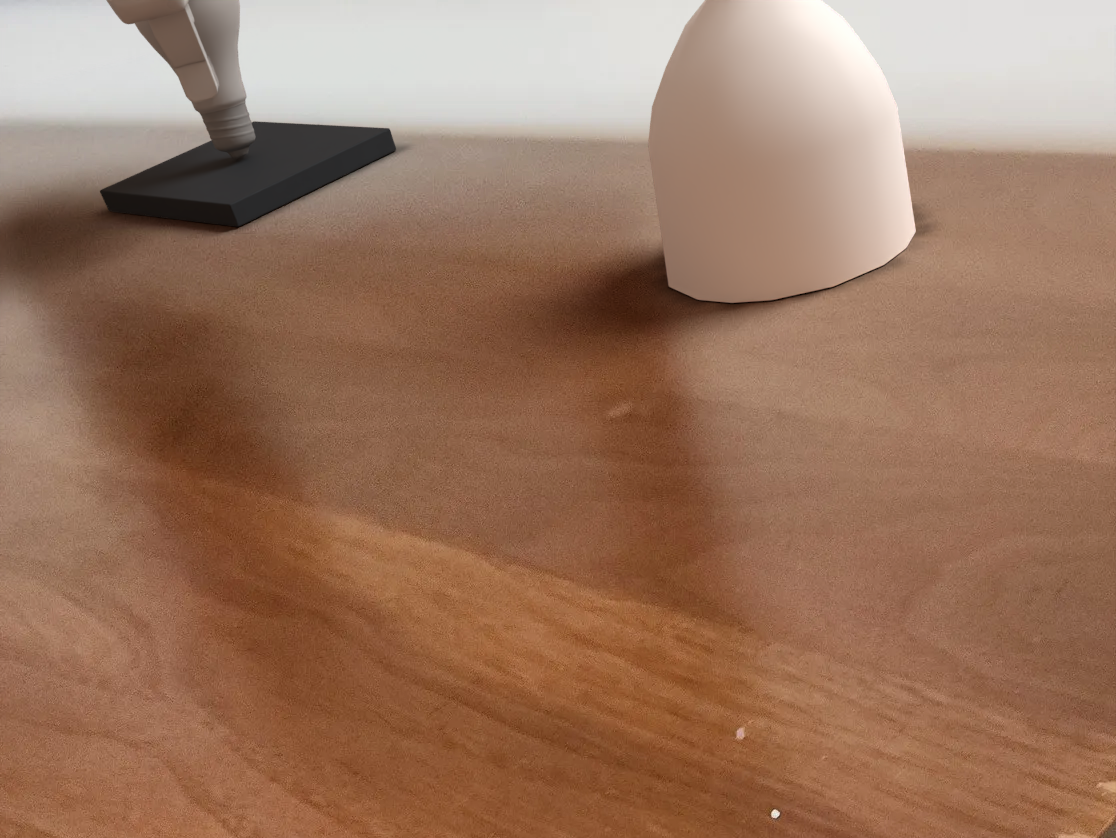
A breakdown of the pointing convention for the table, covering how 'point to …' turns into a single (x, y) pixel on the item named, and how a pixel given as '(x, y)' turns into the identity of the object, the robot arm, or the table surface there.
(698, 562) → the table surface
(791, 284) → the teardrop
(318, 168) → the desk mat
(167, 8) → the robot arm
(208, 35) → the lightbulb
